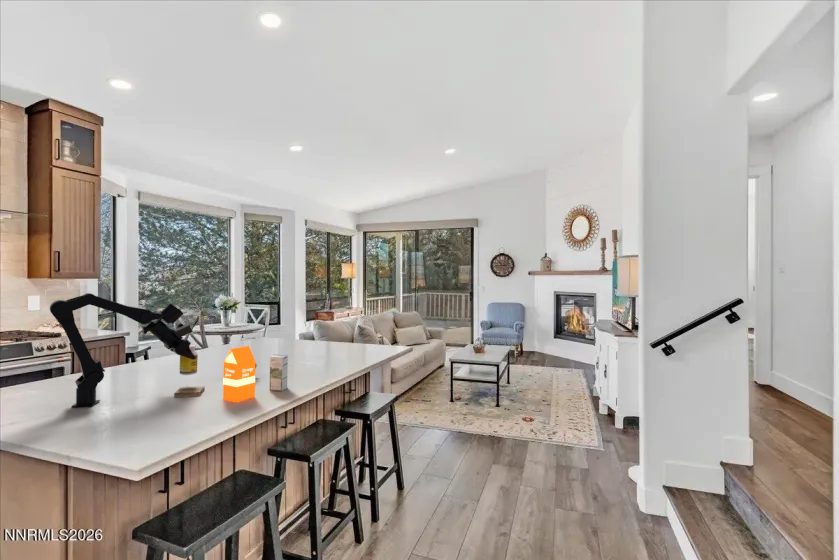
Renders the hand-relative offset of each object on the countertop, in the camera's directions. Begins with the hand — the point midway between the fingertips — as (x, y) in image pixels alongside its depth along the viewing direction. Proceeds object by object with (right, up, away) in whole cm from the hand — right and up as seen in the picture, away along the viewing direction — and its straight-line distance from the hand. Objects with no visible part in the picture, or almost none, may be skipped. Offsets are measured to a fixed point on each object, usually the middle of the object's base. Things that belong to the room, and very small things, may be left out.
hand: (192, 357), depth 180 cm
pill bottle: (-1, -7, -1) cm, 7 cm away
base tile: (+2, -13, -7) cm, 15 cm away
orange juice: (+25, -14, -12) cm, 31 cm away
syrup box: (+35, -14, +2) cm, 38 cm away
